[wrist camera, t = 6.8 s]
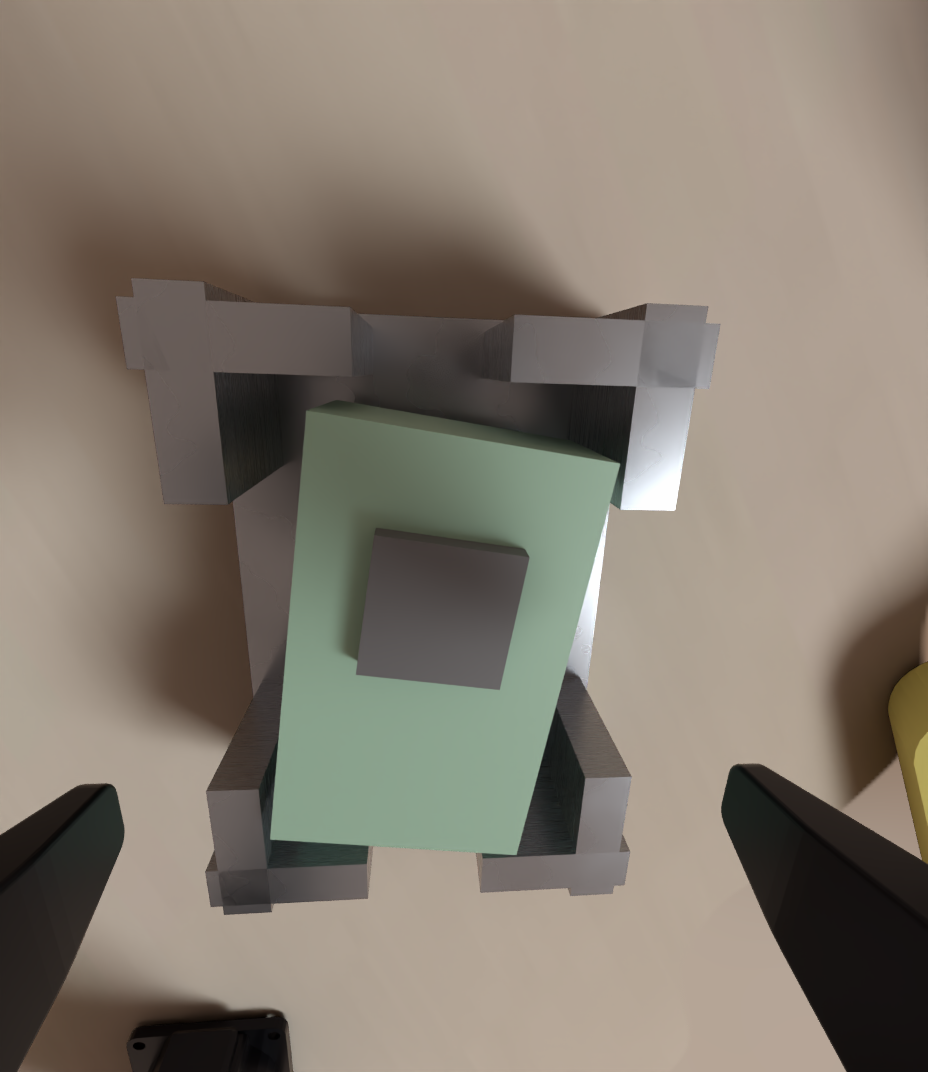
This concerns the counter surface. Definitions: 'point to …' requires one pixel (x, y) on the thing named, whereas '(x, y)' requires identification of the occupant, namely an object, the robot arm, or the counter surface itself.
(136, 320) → the chassis
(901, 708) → the plastic component
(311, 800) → the green block
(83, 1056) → the counter surface
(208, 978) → the counter surface
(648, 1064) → the counter surface
